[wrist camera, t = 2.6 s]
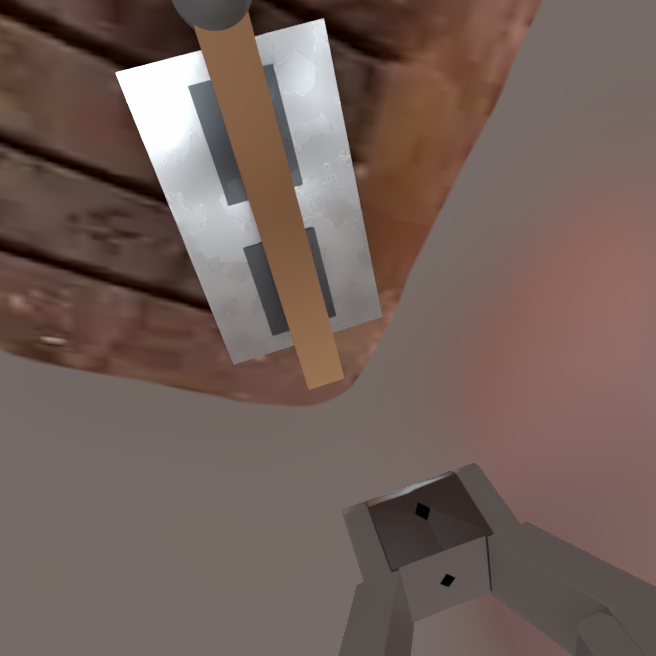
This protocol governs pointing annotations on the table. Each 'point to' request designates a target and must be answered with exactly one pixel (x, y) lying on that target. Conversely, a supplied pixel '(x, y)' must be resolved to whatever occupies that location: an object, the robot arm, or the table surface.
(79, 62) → the table surface
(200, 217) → the block
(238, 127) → the swing bar
